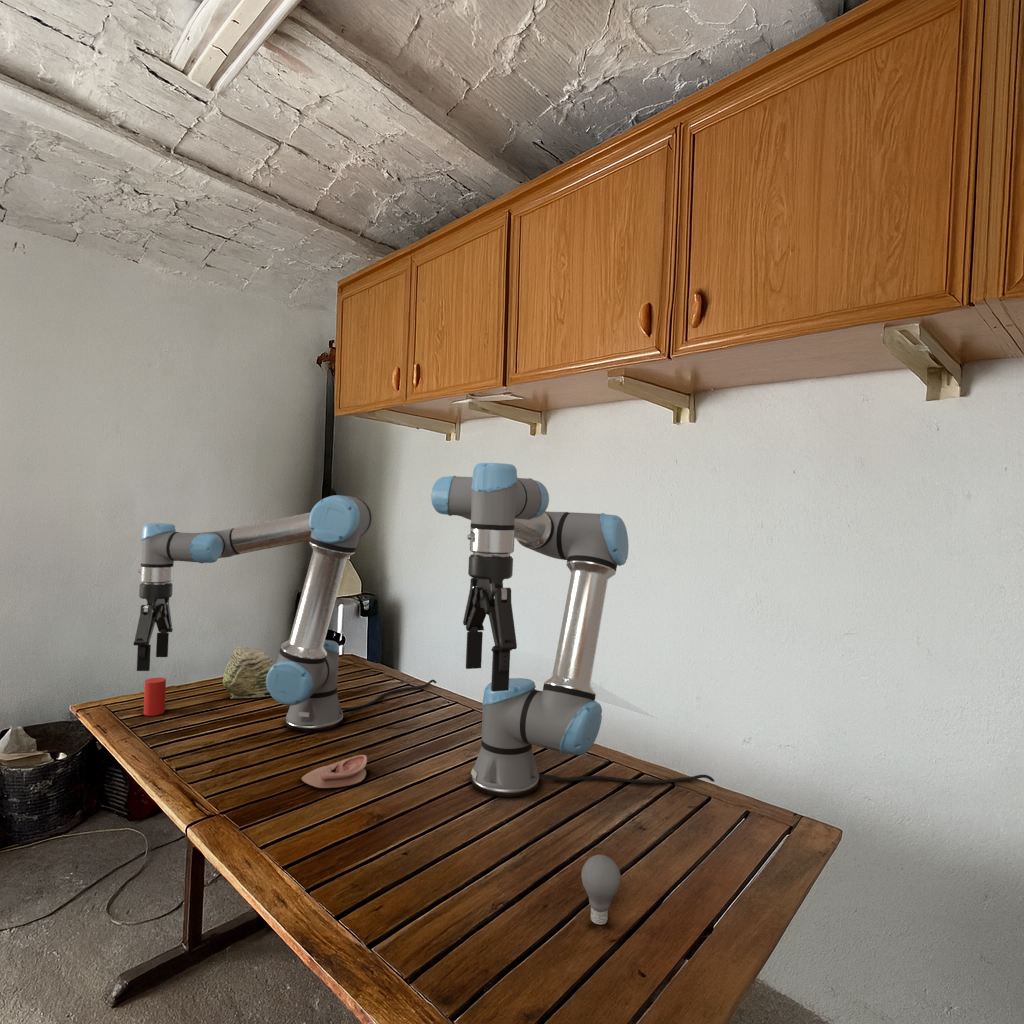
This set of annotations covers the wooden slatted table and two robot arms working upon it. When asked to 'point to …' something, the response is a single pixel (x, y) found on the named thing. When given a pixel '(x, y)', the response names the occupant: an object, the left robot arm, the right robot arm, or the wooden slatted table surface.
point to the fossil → (247, 673)
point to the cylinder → (154, 696)
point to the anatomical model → (338, 773)
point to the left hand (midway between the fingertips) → (152, 663)
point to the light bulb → (600, 885)
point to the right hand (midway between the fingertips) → (485, 678)
